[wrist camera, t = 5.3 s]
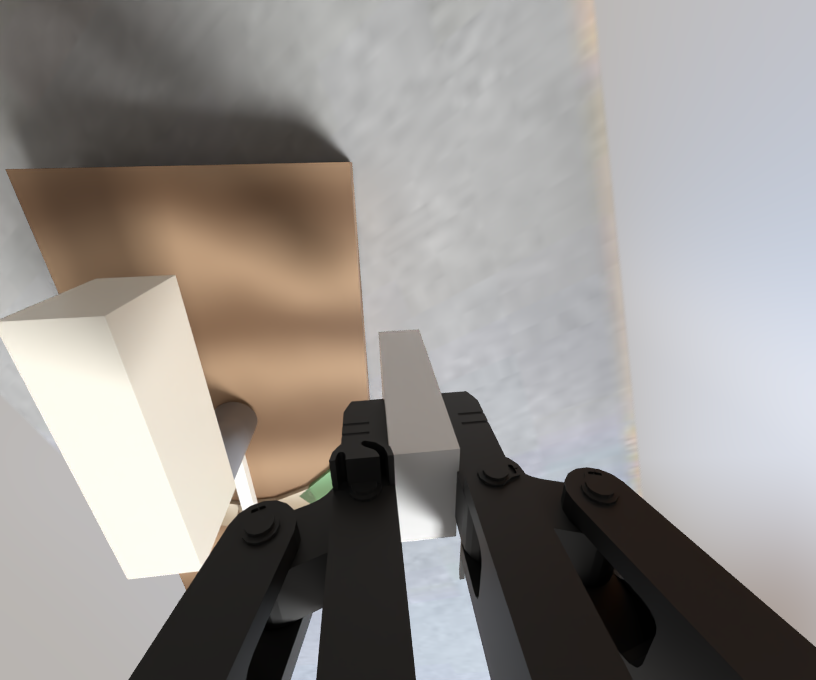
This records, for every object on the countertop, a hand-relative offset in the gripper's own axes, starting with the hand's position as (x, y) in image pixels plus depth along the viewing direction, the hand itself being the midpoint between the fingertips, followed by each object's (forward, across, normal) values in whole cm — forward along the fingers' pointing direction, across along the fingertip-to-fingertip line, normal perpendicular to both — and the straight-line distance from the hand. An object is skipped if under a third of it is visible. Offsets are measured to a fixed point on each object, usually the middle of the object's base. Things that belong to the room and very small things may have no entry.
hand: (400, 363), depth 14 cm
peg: (+6, -9, -6) cm, 12 cm away
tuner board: (+10, -8, -7) cm, 15 cm away
